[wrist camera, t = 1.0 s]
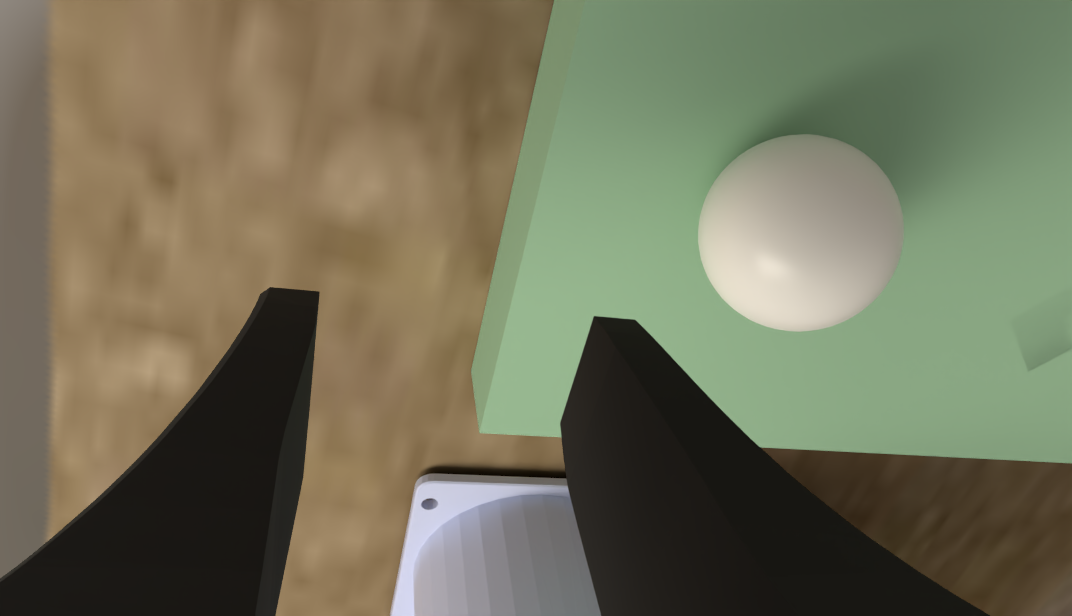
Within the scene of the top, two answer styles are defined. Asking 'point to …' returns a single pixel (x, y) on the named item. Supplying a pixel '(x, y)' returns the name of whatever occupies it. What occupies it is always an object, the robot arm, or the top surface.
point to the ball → (800, 232)
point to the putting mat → (791, 109)
